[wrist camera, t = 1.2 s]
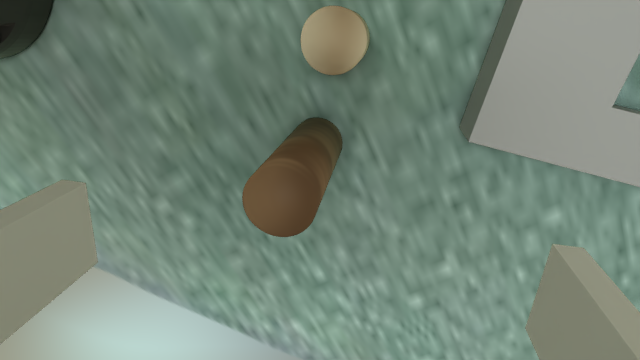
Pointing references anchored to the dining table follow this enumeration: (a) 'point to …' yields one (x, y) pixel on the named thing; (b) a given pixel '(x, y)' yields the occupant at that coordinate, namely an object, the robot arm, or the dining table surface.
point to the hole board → (561, 86)
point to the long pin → (293, 179)
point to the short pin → (334, 40)
